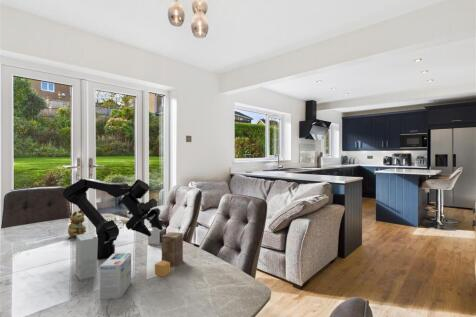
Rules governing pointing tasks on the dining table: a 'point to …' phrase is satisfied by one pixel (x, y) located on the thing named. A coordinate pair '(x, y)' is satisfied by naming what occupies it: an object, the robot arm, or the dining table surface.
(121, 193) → the robot arm
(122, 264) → the light bulb box
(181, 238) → the brown rectangular block
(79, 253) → the skincare box
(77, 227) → the decorative figurine
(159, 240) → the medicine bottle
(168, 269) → the orange cube
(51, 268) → the dining table surface
